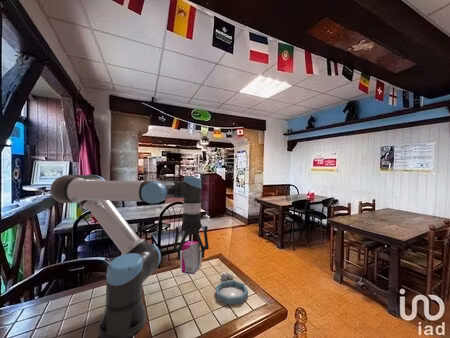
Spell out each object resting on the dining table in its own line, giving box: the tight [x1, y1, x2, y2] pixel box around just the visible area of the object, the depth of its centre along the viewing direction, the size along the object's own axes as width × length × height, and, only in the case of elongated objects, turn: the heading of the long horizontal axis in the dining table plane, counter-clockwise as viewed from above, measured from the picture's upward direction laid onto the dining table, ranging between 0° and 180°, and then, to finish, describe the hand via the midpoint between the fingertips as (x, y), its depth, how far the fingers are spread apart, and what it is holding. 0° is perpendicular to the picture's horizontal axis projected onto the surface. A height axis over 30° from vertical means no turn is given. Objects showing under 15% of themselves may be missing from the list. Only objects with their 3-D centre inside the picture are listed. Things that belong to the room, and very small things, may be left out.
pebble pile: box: [220, 272, 234, 281], centre depth 104 cm, size 6×6×4 cm
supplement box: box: [181, 240, 201, 275], centre depth 83 cm, size 6×6×12 cm
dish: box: [215, 279, 249, 306], centre depth 90 cm, size 14×14×2 cm
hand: (190, 266), depth 83 cm, fingers closed on supplement box, 7 cm apart
